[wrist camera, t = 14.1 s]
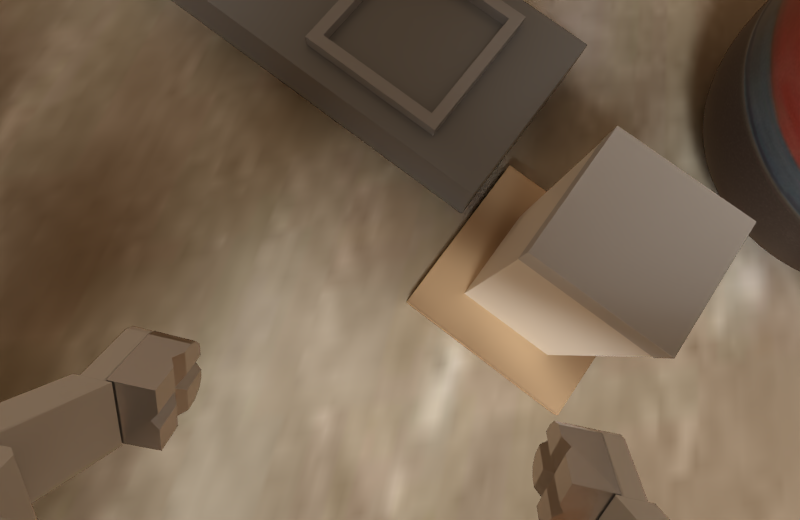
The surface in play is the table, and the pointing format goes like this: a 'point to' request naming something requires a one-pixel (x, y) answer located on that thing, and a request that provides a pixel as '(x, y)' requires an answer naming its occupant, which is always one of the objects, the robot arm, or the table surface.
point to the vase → (760, 127)
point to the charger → (613, 256)
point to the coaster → (477, 326)
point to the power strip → (410, 73)
